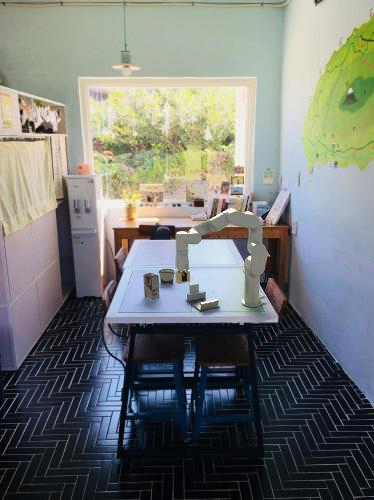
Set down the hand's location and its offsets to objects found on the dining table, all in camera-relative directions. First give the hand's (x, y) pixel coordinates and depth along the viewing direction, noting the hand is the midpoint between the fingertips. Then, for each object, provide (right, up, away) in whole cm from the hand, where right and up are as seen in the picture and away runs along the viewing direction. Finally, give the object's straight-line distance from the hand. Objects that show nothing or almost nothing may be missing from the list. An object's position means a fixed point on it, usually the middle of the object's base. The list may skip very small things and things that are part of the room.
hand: (183, 280), depth 256 cm
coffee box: (-21, -14, +24) cm, 35 cm away
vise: (+13, -16, +11) cm, 24 cm away
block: (0, -1, 0) cm, 1 cm away
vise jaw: (+8, -13, +19) cm, 24 cm away
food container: (-12, -6, +51) cm, 53 cm away
